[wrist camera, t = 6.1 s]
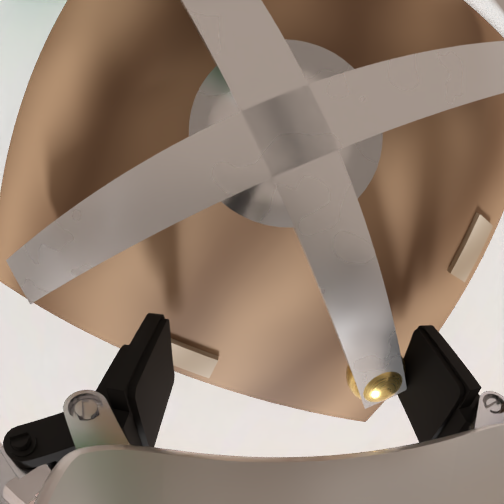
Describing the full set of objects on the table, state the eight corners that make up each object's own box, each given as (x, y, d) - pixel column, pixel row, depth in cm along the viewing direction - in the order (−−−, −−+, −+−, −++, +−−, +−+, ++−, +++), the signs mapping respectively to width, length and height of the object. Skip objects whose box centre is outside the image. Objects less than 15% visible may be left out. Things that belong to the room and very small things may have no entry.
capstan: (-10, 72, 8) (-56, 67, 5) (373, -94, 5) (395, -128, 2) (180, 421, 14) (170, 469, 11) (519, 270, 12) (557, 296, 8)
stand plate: (15, 263, 14) (-9, 279, 11) (164, -90, 7) (155, -112, 5) (356, 399, 17) (366, 425, 14) (516, 81, 10) (542, 79, 8)
